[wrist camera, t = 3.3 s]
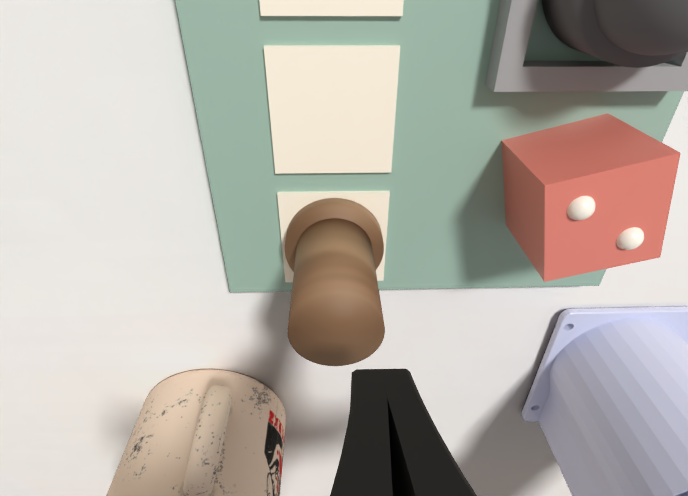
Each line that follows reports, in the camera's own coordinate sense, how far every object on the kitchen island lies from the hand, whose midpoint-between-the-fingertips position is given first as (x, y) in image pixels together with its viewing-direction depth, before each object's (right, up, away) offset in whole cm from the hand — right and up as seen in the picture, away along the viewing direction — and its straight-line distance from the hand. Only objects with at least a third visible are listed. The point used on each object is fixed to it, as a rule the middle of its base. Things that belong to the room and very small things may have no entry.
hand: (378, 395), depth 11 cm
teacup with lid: (-8, -5, +16) cm, 18 cm away
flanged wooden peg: (-1, +4, +8) cm, 9 cm away
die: (+8, +7, +7) cm, 12 cm away
